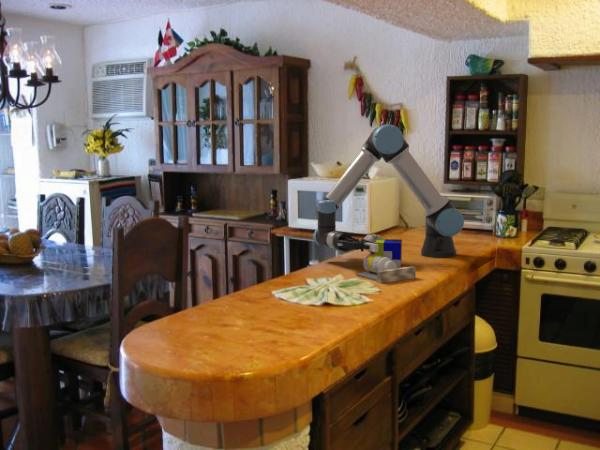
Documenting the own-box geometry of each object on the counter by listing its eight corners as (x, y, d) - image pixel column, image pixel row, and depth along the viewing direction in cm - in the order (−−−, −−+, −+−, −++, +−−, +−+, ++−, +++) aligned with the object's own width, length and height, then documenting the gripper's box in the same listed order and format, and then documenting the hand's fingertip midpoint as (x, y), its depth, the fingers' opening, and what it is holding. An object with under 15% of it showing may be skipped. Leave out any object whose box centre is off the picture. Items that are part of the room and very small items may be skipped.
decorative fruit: (386, 254, 274) (386, 232, 273) (370, 256, 271) (370, 233, 270) (376, 251, 283) (376, 229, 282) (360, 252, 280) (360, 231, 279)
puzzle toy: (400, 268, 243) (400, 243, 242) (374, 267, 245) (375, 242, 244) (401, 263, 253) (401, 239, 252) (376, 263, 255) (377, 239, 254)
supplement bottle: (379, 263, 236) (401, 269, 225) (367, 274, 234) (389, 280, 223) (371, 250, 234) (394, 255, 223) (360, 260, 231) (381, 266, 220)
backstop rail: (411, 277, 225) (411, 266, 225) (415, 278, 223) (415, 267, 223) (376, 282, 217) (377, 271, 216) (380, 283, 215) (380, 272, 215)
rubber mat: (385, 271, 237) (385, 269, 236) (409, 277, 225) (409, 275, 225) (355, 275, 229) (355, 273, 229) (379, 281, 217) (379, 280, 217)
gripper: (353, 248, 253) (390, 256, 232) (326, 251, 246) (362, 260, 226) (353, 230, 252) (390, 236, 232) (326, 232, 245) (362, 239, 225)
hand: (376, 248), depth 229 cm, fingers closed
